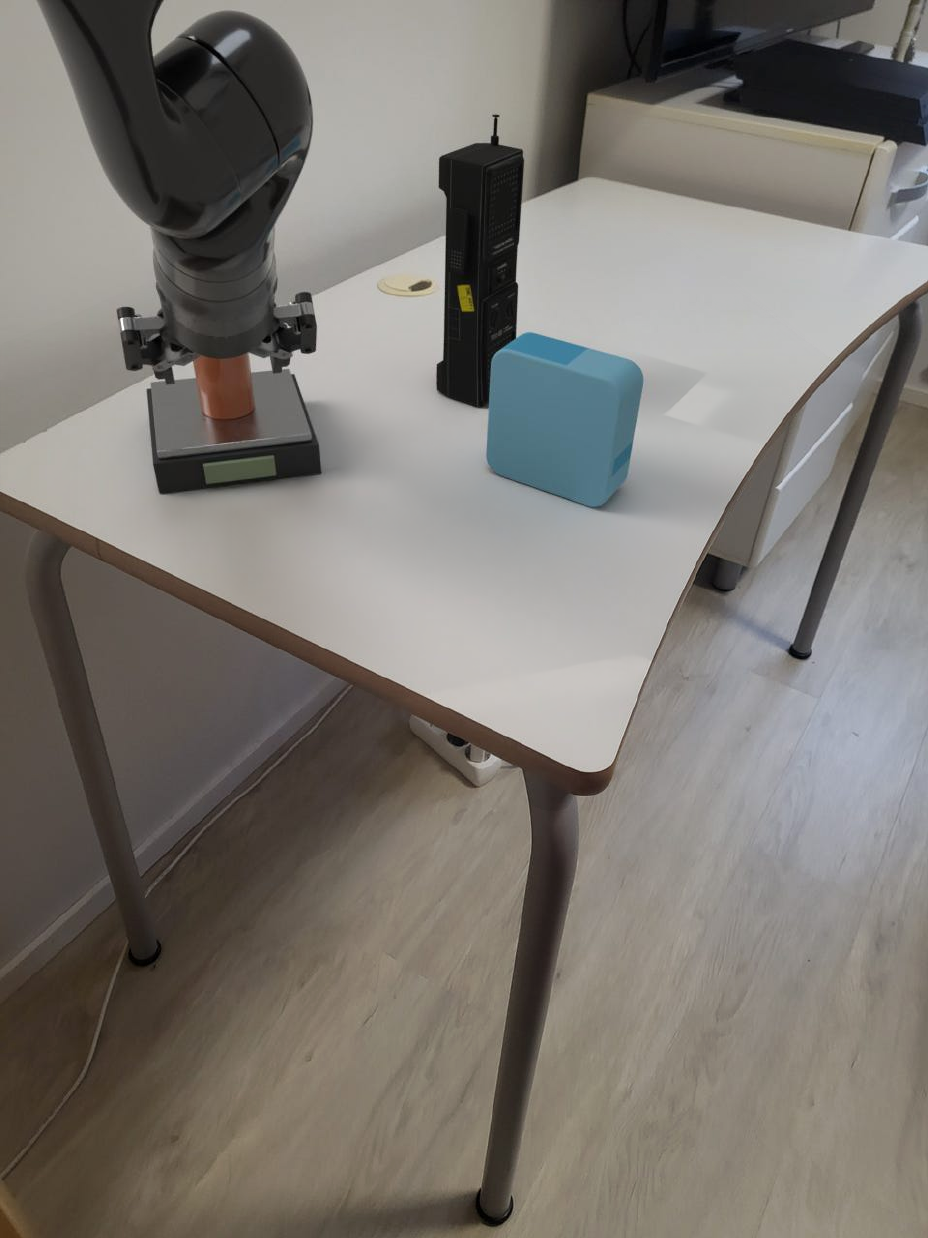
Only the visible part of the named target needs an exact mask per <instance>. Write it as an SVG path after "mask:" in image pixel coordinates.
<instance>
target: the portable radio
mask: <svg viewBox="0 0 928 1238" xmlns="http://www.w3.org/2000/svg"><path fill="white" fill-rule="evenodd" d="M500 116H501V115H500V114H492V115H491V117H492V118H493V130H492V131H493V132H492V135H490V142H475V143H472V144H469V145H466V146H464V147H461V148H459V149H456V150H453V151H451V152H448V153H445V154H441V156H440V157H438V189H439V190H441V191H442V192H443V194H444V195H445V200H446V201H445V202H446V203H445V245H444V246H445V247H444V248H445V251H444V253H445V254H444V301H443V302H444V303H443V304H444V305H443V306H444V307H443V347H442V348H443V351H442V360H441V361H439V362H438V363H436V369H435V371H436V372H435V373H436V374H435V375H436V376H435V377H436V378H435V379H436V380H435V381H436V383H435V385H436V386H435V387H436V389H435V390H436V391H437V392H439V393H440V394H441V395H444V396H446V397H448V398H450V399H451V398H452V399H454V400H457V401H460V402H463V403H465V404H469V405H472V406H475V407H477V408H480V407H481V408H482V407H484V405H486V404H487V403H489V396H490V377H491V362H492V358H493V356H494V355H495V353H496V352H498V351H499V350H500V349H502V348H503V347H505V346H506V345H508V344H509V343H510V342H512V341H513V340H515V339H516V338H517V326H518V325H517V324H518V301H519V284H518V282H517V269H518V268H517V267H518V249H519V248H518V247H519V244H520V234H521V219H522V218H521V217H522V202H523V201H522V200H523V187H524V170H525V158H524V151H523V148H519V147H514V146H508V145H503V144H499V143H500V136H499V135H498V121H499V120H498V118H500Z"/></svg>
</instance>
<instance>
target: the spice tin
mask: <svg viewBox="0 0 928 1238" xmlns="http://www.w3.org/2000/svg"><path fill="white" fill-rule="evenodd" d="M192 364H193V370H194V375H195V378H196V382H197V388H198V394H199V400H200V406H201V411H202V412H203V413H204V414H205V415H206V416H208V417H211V418H215V419H235V418H239V417H243V416H245V415H247V414H249V413H250V412H252V411H253V409H254V408H255V399H254V391H253V383H252V375H251V373H252V368H251V367H252V366H251V360H250V353H246V354H244V355H241V356H238V357H234V358H228V359H216V358H209V357H205V356H200V357H199V358H197V359H195V360H194V361H192Z"/></svg>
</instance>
